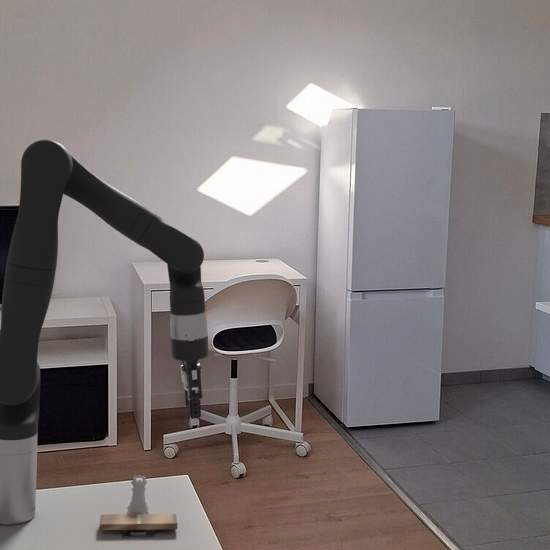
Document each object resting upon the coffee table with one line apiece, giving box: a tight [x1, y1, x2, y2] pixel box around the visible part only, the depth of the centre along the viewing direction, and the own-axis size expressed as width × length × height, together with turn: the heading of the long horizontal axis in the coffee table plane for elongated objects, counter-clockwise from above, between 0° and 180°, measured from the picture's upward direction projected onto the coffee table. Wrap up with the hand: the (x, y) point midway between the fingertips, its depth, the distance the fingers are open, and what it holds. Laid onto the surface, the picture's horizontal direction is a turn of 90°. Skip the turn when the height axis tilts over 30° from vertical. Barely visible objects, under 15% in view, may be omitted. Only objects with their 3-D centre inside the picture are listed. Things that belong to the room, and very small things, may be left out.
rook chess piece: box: [126, 475, 150, 514], centre depth 172 cm, size 4×4×8 cm
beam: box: [98, 513, 178, 531], centre depth 166 cm, size 15×4×1 cm, turn 100°
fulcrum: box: [122, 529, 155, 538], centre depth 166 cm, size 6×7×1 cm
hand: (193, 411), depth 172 cm, fingers open, 8 cm apart
